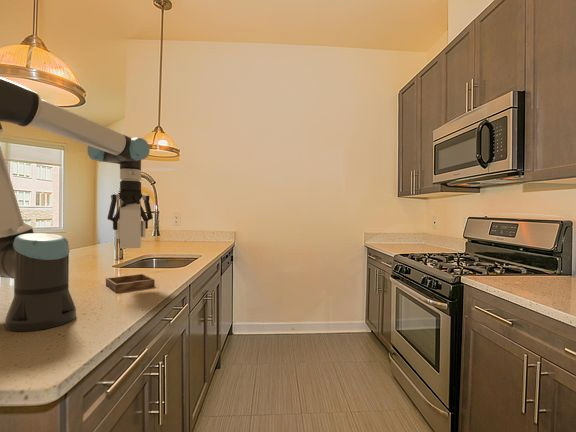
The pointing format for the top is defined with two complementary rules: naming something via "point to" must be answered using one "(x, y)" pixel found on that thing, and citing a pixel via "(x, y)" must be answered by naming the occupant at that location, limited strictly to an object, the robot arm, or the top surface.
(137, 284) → the tray
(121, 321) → the top surface
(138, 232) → the milk carton
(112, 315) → the top surface
